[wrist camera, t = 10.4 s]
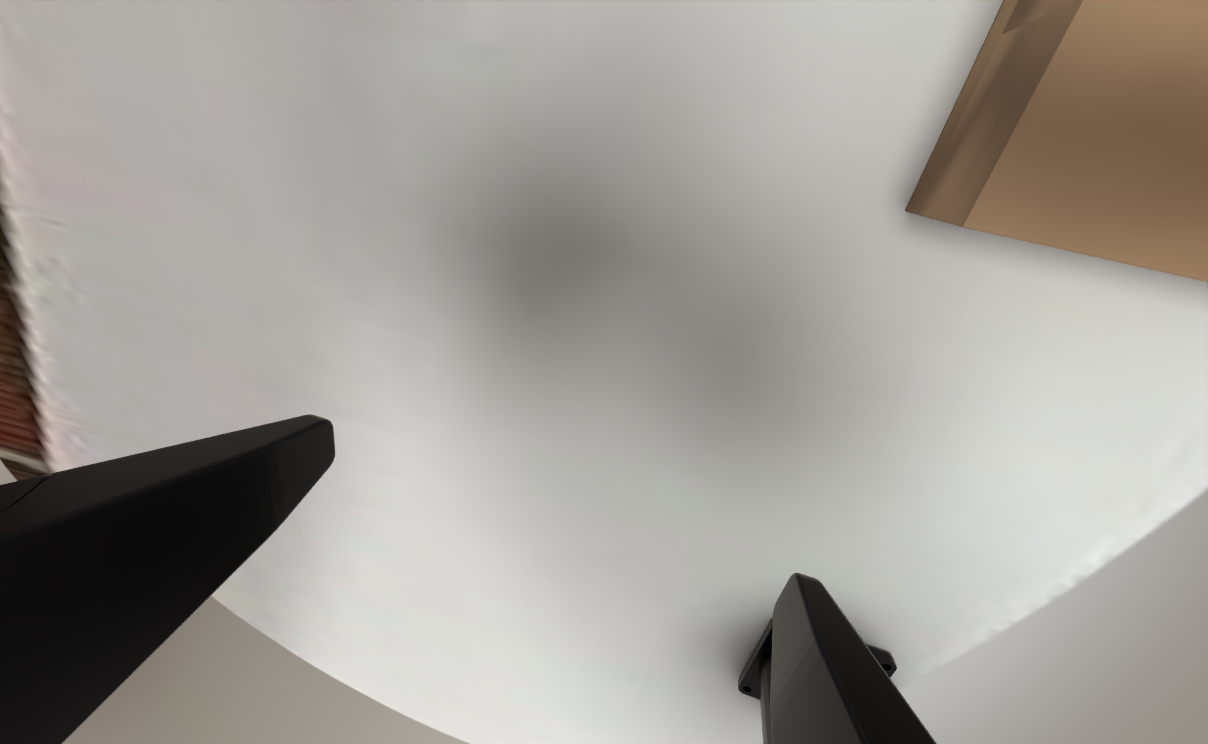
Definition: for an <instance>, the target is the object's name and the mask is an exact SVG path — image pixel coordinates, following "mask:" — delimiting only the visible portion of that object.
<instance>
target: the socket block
mask: <svg viewBox="0 0 1208 744" xmlns="http://www.w3.org/2000/svg"><path fill="white" fill-rule="evenodd" d="M905 211H908V212H912V213H915V214H919V215H922V216H926V217H929V218H933V219H936V220H940V221H944V222H947V223H951V224H954V225H958V226H961V227H965V228H970V229H974V230H979V231H983V232H988V233H992V234H997V235H1001V236H1005V237H1010V238H1014V239H1019V240H1023V241H1028V242H1032V243H1037V244H1041V245H1046V246H1050V247H1054V248H1059V249H1063V250H1068V251H1072V252H1077V253H1081V254H1086V255H1090V256H1094V257H1099V258H1103V259H1108V260H1112V261H1117V262H1121V263H1126V264H1130V265H1134V266H1139V267H1143V268H1148V269H1152V270H1157V271H1161V272H1166V273H1170V274H1174V275H1179V276H1183V277H1188V278H1192V279H1197V280H1201V281H1206V282H1208V0H1004V2H1003V4H1002V6H1001V8H1000V10H999V12H998V14H997V17H996V19H995V21H994V23H993V25H992V27H991V29H990V31H989V34H988V36H987V38H986V40H985V42H984V44H983V46H982V48H981V51H980V53H979V55H978V57H977V59H976V61H975V63H974V66H973V68H972V70H971V72H970V74H969V76H968V78H967V80H966V83H965V85H964V87H963V89H962V91H961V93H960V95H959V97H958V100H957V102H956V104H955V106H954V108H953V110H952V112H951V114H950V117H949V119H948V121H947V123H946V125H945V127H944V129H943V131H942V134H941V136H940V138H939V140H938V142H937V144H936V146H935V149H934V151H933V153H932V155H931V157H930V159H929V161H928V163H927V166H926V168H925V170H924V172H923V174H922V176H921V178H920V180H919V183H918V185H917V187H916V189H915V191H914V193H913V195H912V197H911V200H910V202H909V204H908V206H907V208H906V210H905Z"/></svg>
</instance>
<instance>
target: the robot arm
mask: <svg viewBox="0 0 1208 744" xmlns="http://www.w3.org/2000/svg"><path fill="white" fill-rule="evenodd" d="M334 458H335V443H334V431H333V425H332V423H331V421H329V420H328V419H325V418H322V417H319V416H315V415H304V416H300V417H295V418H291V419H287V420H282V421H278V422H274V423H269V424H265V425H261V426H256V427H252V428H248V429H243V430H239V431H234V432H230V433H226V434H221V435H217V436H213V437H208V438H204V439H200V440H195V441H191V442H187V443H182V444H178V445H174V446H169V447H165V448H160V449H156V450H152V451H147V452H143V453H139V454H134V455H130V456H126V457H121V458H117V459H113V460H108V461H104V462H100V463H95V464H91V465H87V466H82V467H78V468H73V469H69V470H65V471H60V472H56V473H53V474H51V475H50V476H48V475H42V476H38V477H34V478H29V479H25V480H21V481H17V482H12V483H8V484H3V485H0V744H62V743H63V742H64V741H65V740H66V739H67V738H68V737H69V736H70V735H71V734H72V733H73V732H74V731H75V730H76V729H77V728H78V727H79V726H80V725H81V724H82V723H83V722H84V721H85V720H86V719H87V718H88V717H89V716H90V715H91V714H92V713H93V712H94V711H95V710H96V709H97V708H98V707H99V706H100V705H101V704H102V703H103V702H104V701H105V700H106V699H107V698H108V697H109V696H110V695H111V694H112V693H113V692H114V691H115V690H116V689H117V688H118V687H119V686H120V685H121V684H122V683H123V682H124V681H125V680H126V679H127V678H128V677H129V676H130V675H131V674H132V673H133V672H134V671H135V670H136V669H137V668H138V667H139V666H140V665H141V664H142V663H143V662H144V661H145V660H146V659H147V658H148V657H149V656H150V655H151V654H152V653H153V652H154V651H155V650H156V649H157V648H158V647H159V646H160V645H162V644H163V642H165V641H166V639H168V638H169V637H170V635H172V634H173V633H174V632H175V630H177V628H179V627H180V626H181V625H182V624H183V623H184V622H185V620H187V619H188V618H189V617H190V616H191V614H193V612H195V611H196V610H197V609H198V608H199V607H200V606H201V605H202V604H203V603H204V602H205V601H206V600H207V599H208V598H209V597H210V596H211V595H212V594H213V593H214V592H215V591H216V590H217V589H218V588H219V587H220V586H221V585H222V584H223V583H224V582H225V581H226V580H227V579H228V578H229V577H230V576H231V575H232V574H233V573H234V572H235V571H236V570H237V569H238V568H239V567H240V566H241V565H242V564H243V563H244V562H245V561H246V560H247V559H248V558H249V557H250V556H251V555H252V554H253V553H254V552H255V551H256V550H257V549H258V548H259V547H260V546H261V545H262V544H263V543H264V542H265V541H266V540H267V539H268V538H269V537H270V536H271V535H272V534H273V533H274V532H275V531H276V530H277V529H278V527H279V526H280V525H281V524H282V523H283V522H284V521H285V520H286V518H287V517H288V516H289V515H290V514H291V512H292V511H293V510H294V509H295V508H296V507H297V505H298V504H299V503H300V502H301V501H302V499H303V498H304V497H305V496H306V495H307V493H308V492H309V491H310V490H311V489H312V487H313V486H314V485H315V484H316V483H317V481H318V480H319V479H320V478H321V477H322V475H323V474H324V473H325V472H326V471H327V469H328V468H329V467H330V466H331V464H332V462H333V460H334ZM896 669H897V667H896V664H895V661H894V658H893V657H892V656H890V655H888V654H885V653H883V652H880V651H877V650H874V649H871V648H868V647H867V646H866V644H865V643H864V642H863V640H862V639H861V637H860V636H859V635H858V633H857V632H856V630H855V629H854V628H853V626H852V625H851V623H850V622H849V621H848V619H847V618H846V616H845V615H844V614H843V612H842V611H841V609H840V608H839V607H838V605H837V604H836V602H835V601H834V600H833V598H832V597H831V595H830V594H829V593H828V591H827V590H826V588H825V587H824V586H823V584H822V583H821V582H820V581H819V580H817V579H815V578H812V577H809V576H806V575H803V574H800V573H794V574H793V575H792V576H791V577H790V578H789V580H788V582H787V584H786V586H785V587H784V589H783V591H782V593H781V595H780V596H779V598H778V600H777V602H776V604H775V608H774V613H773V620H772V621H771V622H770V624H769V626H768V628H767V630H766V631H765V633H764V635H763V637H762V639H761V640H760V642H759V644H758V646H757V647H756V649H755V651H754V653H753V655H752V656H751V658H750V660H749V662H748V664H747V665H746V667H745V669H744V671H743V673H742V674H741V676H740V678H739V680H738V689H739V691H740V692H741V693H743V694H746V695H749V696H751V697H754V698H757V699H760V701H761V717H762V732H763V744H936V742H935V741H934V739H933V738H932V737H931V735H930V734H929V732H928V731H927V729H926V728H925V727H924V725H923V724H922V723H921V721H920V720H919V718H918V717H917V716H916V714H915V713H914V711H913V710H912V709H911V707H910V706H909V704H908V703H907V702H906V700H905V699H904V697H903V696H902V695H901V693H900V692H899V690H898V689H897V688H896V686H895V685H894V683H893V682H892V681H891V679H890V677H891V676H892V675H893V673H894V672H895V671H896Z"/></svg>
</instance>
